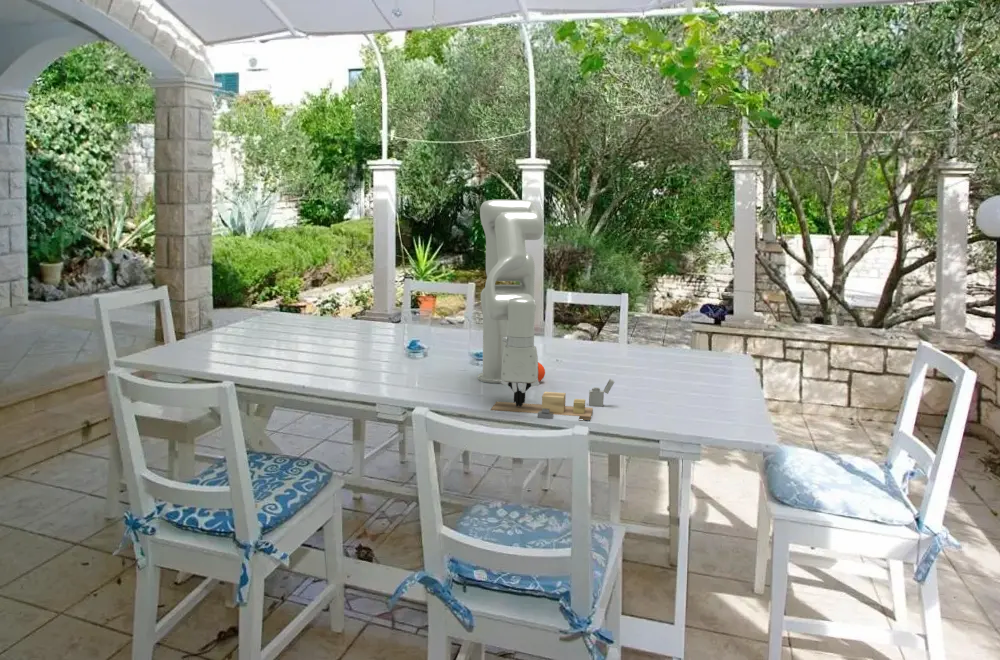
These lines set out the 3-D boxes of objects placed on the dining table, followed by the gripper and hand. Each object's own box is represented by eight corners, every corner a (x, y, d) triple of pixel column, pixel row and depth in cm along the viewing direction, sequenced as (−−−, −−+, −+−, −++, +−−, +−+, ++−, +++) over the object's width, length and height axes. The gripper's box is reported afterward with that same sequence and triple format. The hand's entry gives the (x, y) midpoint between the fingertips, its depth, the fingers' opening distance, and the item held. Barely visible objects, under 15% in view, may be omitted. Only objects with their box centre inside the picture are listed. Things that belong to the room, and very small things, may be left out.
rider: (544, 406, 212) (544, 391, 211) (565, 408, 211) (565, 393, 210) (541, 411, 207) (542, 396, 206) (563, 413, 206) (563, 397, 205)
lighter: (589, 405, 218) (590, 379, 217) (588, 404, 220) (589, 377, 219) (613, 406, 218) (614, 380, 216) (612, 404, 220) (614, 378, 218)
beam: (497, 404, 219) (497, 390, 218) (592, 410, 214) (593, 396, 213) (489, 415, 207) (489, 401, 206) (590, 422, 202) (590, 407, 201)
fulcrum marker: (538, 419, 204) (539, 407, 203) (553, 420, 203) (553, 408, 203) (537, 421, 202) (537, 409, 201) (552, 422, 201) (552, 410, 200)
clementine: (545, 386, 240) (545, 364, 239) (523, 385, 240) (524, 364, 239) (544, 380, 248) (544, 359, 247) (523, 379, 248) (524, 358, 247)
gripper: (491, 343, 205) (491, 407, 209) (545, 345, 203) (543, 410, 206) (496, 338, 213) (495, 400, 216) (548, 340, 210) (547, 403, 213)
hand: (519, 404), depth 211 cm, fingers closed
